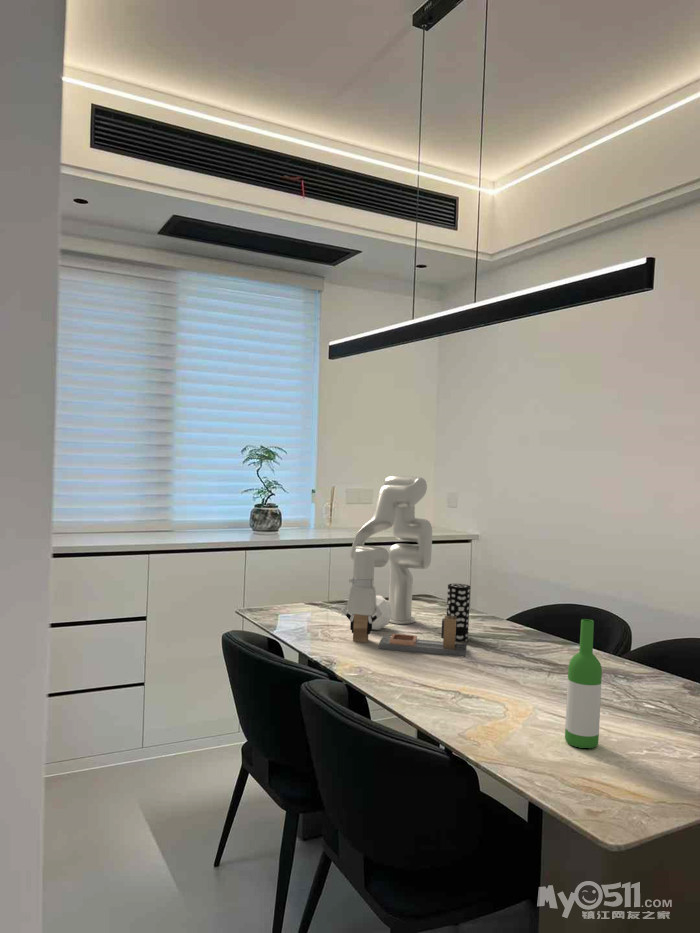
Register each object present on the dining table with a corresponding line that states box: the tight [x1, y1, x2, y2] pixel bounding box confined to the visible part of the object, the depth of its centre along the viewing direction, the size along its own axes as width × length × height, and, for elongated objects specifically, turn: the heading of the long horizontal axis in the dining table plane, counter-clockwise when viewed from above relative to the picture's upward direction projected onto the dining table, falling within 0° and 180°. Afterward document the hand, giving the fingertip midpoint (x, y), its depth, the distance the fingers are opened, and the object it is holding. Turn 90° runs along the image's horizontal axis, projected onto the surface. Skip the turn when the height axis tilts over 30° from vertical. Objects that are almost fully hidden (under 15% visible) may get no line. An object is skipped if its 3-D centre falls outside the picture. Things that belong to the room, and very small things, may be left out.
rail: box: [378, 614, 468, 658], centre depth 251 cm, size 10×30×12 cm, turn 80°
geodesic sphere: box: [372, 594, 392, 631], centre depth 277 cm, size 14×14×14 cm
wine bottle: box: [564, 618, 603, 749], centre depth 172 cm, size 8×8×30 cm
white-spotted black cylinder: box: [446, 583, 471, 643], centre depth 268 cm, size 8×8×20 cm
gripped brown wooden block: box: [352, 615, 369, 643], centre depth 259 cm, size 5×5×10 cm
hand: (360, 632), depth 259 cm, fingers closed on gripped brown wooden block, 5 cm apart
